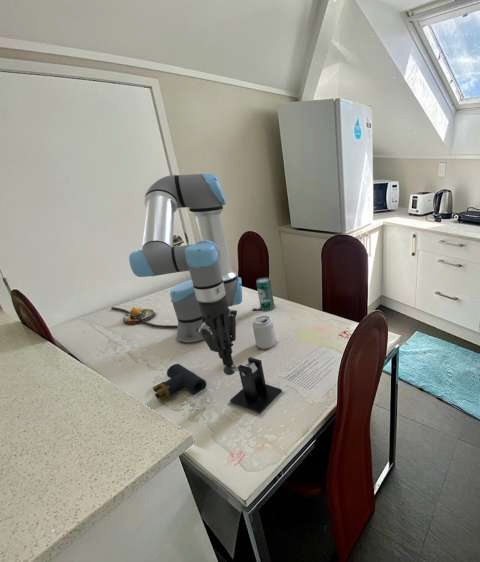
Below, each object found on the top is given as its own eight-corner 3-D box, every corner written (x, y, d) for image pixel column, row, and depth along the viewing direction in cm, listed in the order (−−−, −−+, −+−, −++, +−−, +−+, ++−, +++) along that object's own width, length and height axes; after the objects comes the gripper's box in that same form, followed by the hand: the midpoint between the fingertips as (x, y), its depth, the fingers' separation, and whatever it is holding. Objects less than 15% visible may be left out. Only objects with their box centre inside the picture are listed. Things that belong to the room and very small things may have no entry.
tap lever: (224, 377, 99) (219, 368, 98) (233, 370, 102) (228, 361, 101) (251, 376, 93) (246, 366, 92) (260, 369, 96) (255, 359, 95)
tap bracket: (230, 403, 97) (221, 368, 92) (253, 383, 106) (246, 349, 100) (260, 415, 93) (252, 379, 87) (282, 393, 101) (276, 358, 96)
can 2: (270, 351, 122) (265, 325, 117) (253, 349, 123) (247, 323, 119) (279, 340, 129) (275, 315, 124) (262, 338, 130) (258, 313, 125)
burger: (160, 311, 153) (155, 298, 150) (144, 324, 142) (139, 310, 139) (135, 312, 152) (130, 298, 150) (117, 325, 142) (111, 310, 139)
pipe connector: (167, 397, 93) (143, 379, 100) (171, 411, 95) (148, 392, 102) (204, 376, 102) (180, 360, 109) (207, 388, 104) (183, 373, 111)
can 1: (258, 308, 154) (253, 281, 148) (268, 303, 159) (263, 276, 153) (267, 311, 151) (262, 283, 145) (276, 306, 156) (272, 279, 150)
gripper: (201, 310, 82) (220, 380, 92) (239, 290, 93) (252, 355, 102) (182, 305, 85) (202, 374, 94) (220, 287, 96) (235, 350, 105)
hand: (228, 364), depth 98 cm, fingers closed
